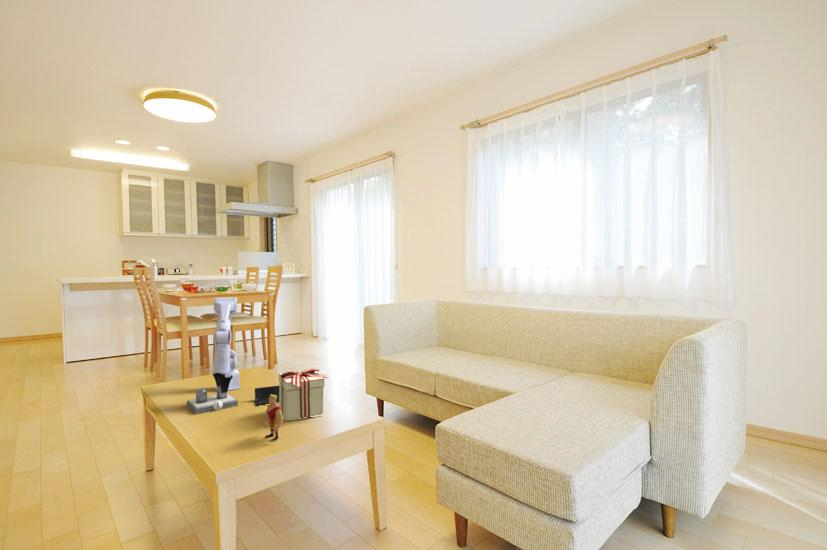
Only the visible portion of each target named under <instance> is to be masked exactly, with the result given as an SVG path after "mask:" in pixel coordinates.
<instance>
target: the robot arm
mask: <svg viewBox="0 0 827 550" xmlns="http://www.w3.org/2000/svg"><path fill="white" fill-rule="evenodd" d="M237 303H238V298H237V297H236V296H235V297H232V296H231V297H226V296H225V297H216V296H215V297H214V298H213V311H214V313H215V315H216V316H219V319H217V321H216V326H215V332H214V334H213V343H214V350H215V351H214V357H213V369H212V370H211V373H212V376H213V379H214V381H215V384H216V386H215V387H214V388H213V389H215V390H216V391H217V386H219V385H220V386H221V392H222V393H225V392H227V393H228V391H232V390H238V389H240V372H239V369H238V368H237V367H238V366H237V363H238V362H237V360H238V359H237V353H236V351H234V350H232V349H231V343H232V331H231V330H232V329H231V325H232V322H231V319H232V317H233V315H236V313H237V309H238V307H237V306H238V304H237Z"/></svg>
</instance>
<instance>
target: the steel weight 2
mask: <svg viewBox="0 0 827 550" xmlns="http://www.w3.org/2000/svg"><path fill="white" fill-rule="evenodd" d="M216 387H217V390H216V395H217V399H225V398H227V394H228V391H227V392H225V393H222V392H221V386H220V385H219V386H217V385H216Z"/></svg>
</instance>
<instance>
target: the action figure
mask: <svg viewBox="0 0 827 550" xmlns="http://www.w3.org/2000/svg"><path fill="white" fill-rule="evenodd" d="M276 398H277V396H276V395H272V394H270V396H269V404H270V405H267V407H266V410H265V411H266V415H265V420H264V422H263V426H262V428H263V429H267V428H269V430H270V434H267V435H265V436H266V437H265V438H268V437H267V436H270V437H273V438H272V439H271V441H272V440H275V439H277V438H278V439H279V436H278V435H279V430H280V427H281V425H282V424H283V422H284V417H283V416H282V412H281V408H280V407H279V404H277V403H276ZM276 419H277V420H278V421H277V425H276ZM268 421H269V427H268ZM273 435H274V436H273ZM278 439H277V440H278ZM275 441H276V440H275Z"/></svg>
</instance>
